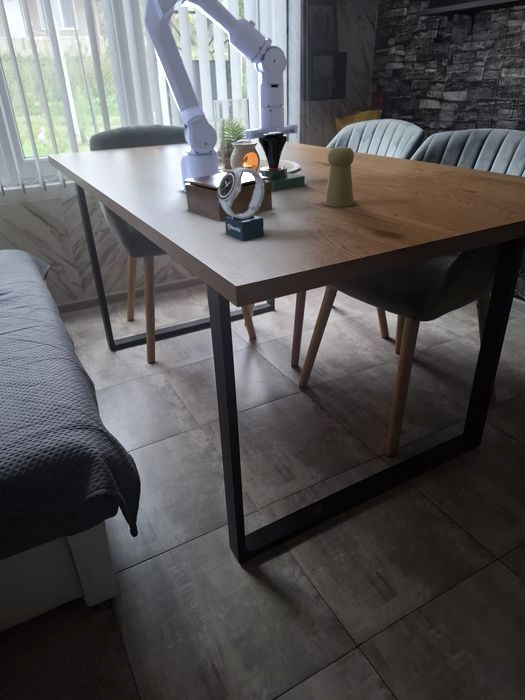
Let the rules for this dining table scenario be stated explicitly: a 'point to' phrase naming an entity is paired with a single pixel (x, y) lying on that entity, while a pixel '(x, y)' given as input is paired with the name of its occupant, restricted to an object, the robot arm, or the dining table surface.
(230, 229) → the watch
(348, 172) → the olive green tall piece
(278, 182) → the button box
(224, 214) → the carton
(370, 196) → the dining table surface
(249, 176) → the flap
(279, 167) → the button
